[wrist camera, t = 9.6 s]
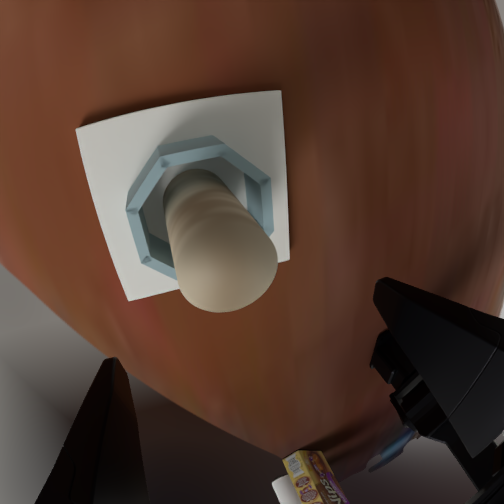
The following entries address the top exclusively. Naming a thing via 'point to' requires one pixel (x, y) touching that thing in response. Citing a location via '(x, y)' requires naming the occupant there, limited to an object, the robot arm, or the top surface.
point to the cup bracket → (175, 162)
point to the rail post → (216, 243)
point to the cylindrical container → (286, 491)
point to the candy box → (313, 478)
